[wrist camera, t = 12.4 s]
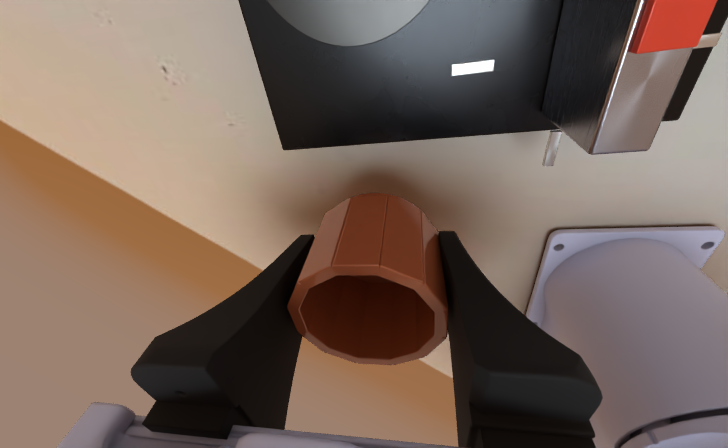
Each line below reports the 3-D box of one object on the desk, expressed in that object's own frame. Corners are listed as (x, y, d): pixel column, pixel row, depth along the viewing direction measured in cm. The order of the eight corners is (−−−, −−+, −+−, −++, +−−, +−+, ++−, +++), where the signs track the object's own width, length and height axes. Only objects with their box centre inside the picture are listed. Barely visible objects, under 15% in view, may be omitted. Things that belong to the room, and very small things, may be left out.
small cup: (437, 281, 15) (445, 368, 11) (331, 281, 16) (309, 361, 12) (439, 185, 12) (451, 265, 8) (307, 192, 13) (268, 265, 9)
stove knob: (582, 109, 11) (656, 155, 7) (540, 113, 11) (593, 159, 8) (617, -19, 9) (740, -31, 5) (564, -10, 9) (651, -17, 6)
